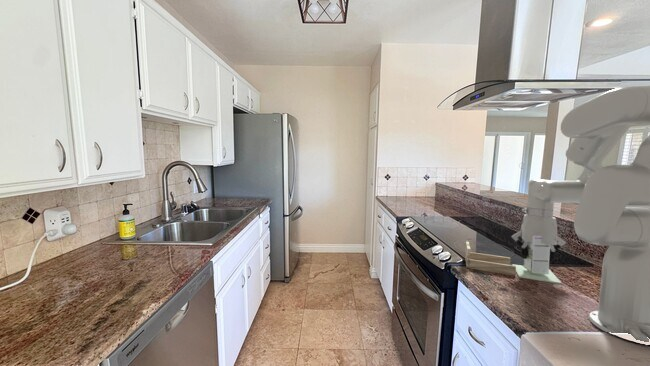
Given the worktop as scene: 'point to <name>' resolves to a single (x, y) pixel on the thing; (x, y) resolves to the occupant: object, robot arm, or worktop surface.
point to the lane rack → (489, 262)
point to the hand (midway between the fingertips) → (536, 258)
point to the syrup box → (537, 256)
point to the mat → (536, 275)
